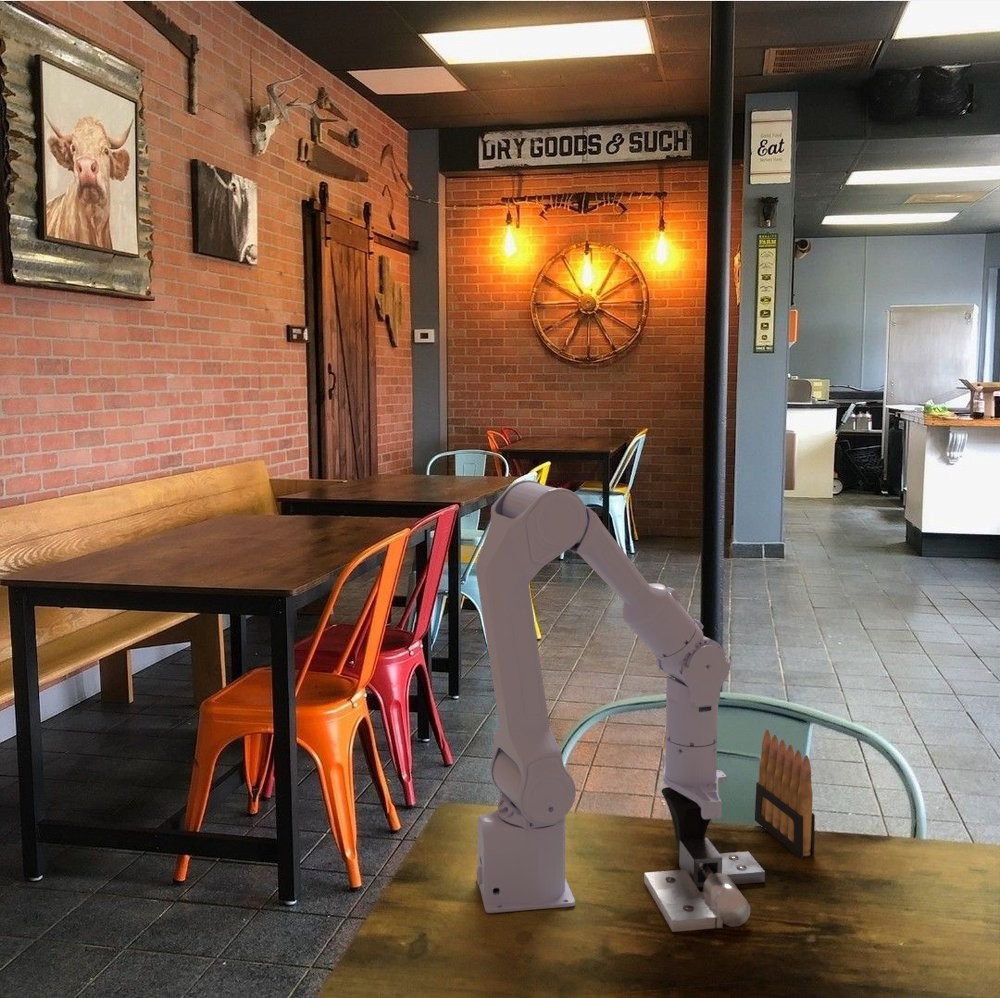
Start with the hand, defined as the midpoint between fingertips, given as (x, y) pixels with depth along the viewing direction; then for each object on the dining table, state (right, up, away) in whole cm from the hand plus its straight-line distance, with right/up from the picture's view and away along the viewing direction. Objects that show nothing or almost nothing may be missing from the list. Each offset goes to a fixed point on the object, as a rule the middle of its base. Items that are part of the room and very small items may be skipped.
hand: (689, 852), depth 117 cm
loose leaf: (+3, -1, -3) cm, 5 cm away
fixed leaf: (-1, -2, -9) cm, 9 cm away
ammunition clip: (+12, -1, +6) cm, 14 cm away
